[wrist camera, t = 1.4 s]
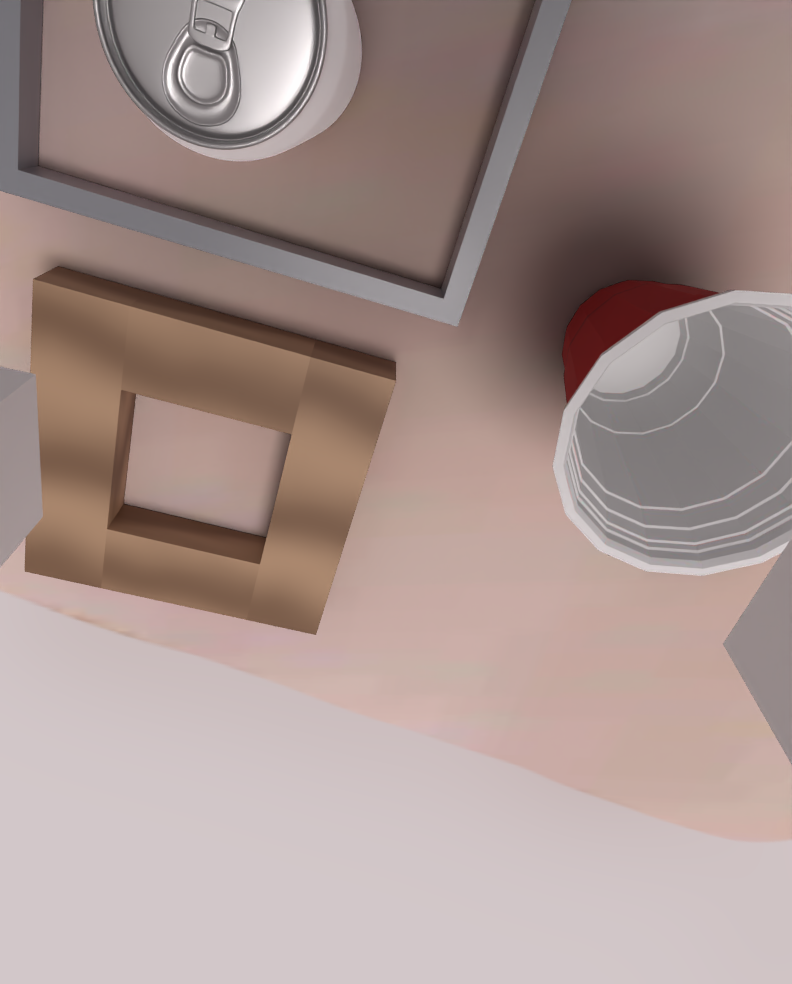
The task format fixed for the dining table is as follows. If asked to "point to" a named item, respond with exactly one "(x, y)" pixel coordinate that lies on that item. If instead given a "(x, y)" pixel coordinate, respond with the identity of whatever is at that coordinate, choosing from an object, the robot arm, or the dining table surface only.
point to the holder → (210, 388)
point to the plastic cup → (679, 426)
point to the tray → (14, 169)
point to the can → (234, 69)
